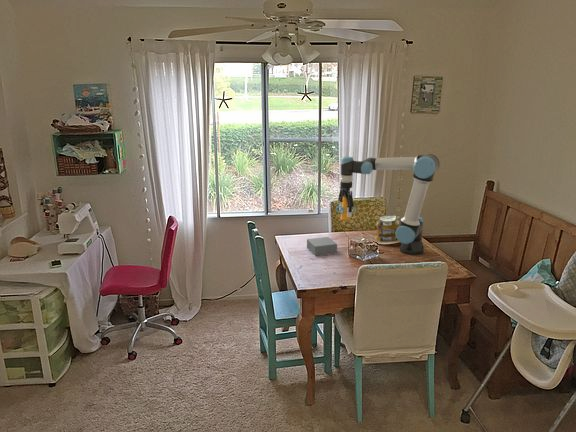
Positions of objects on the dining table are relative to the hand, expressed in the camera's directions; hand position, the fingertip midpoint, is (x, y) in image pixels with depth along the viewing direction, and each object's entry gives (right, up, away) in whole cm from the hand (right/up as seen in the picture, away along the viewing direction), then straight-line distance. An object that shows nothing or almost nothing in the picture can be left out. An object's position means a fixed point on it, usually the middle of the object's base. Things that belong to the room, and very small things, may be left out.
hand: (345, 214), depth 318 cm
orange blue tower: (0, -3, +1) cm, 4 cm away
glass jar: (+32, -18, +18) cm, 42 cm away
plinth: (-15, -23, +1) cm, 28 cm away
